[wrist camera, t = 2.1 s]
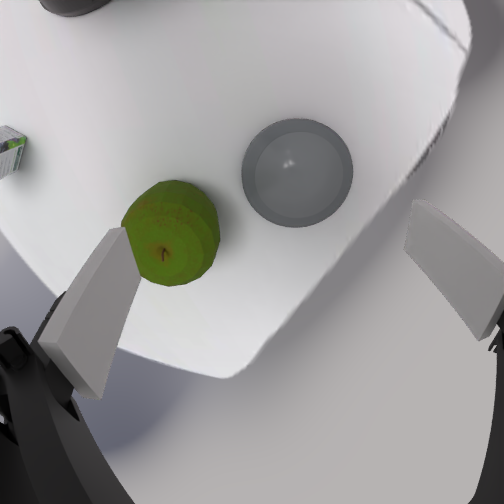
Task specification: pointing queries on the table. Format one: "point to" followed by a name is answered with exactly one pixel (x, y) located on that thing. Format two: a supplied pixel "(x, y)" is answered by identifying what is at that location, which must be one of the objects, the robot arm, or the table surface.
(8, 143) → the syrup box
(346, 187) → the slate plate
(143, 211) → the apple
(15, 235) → the table surface
